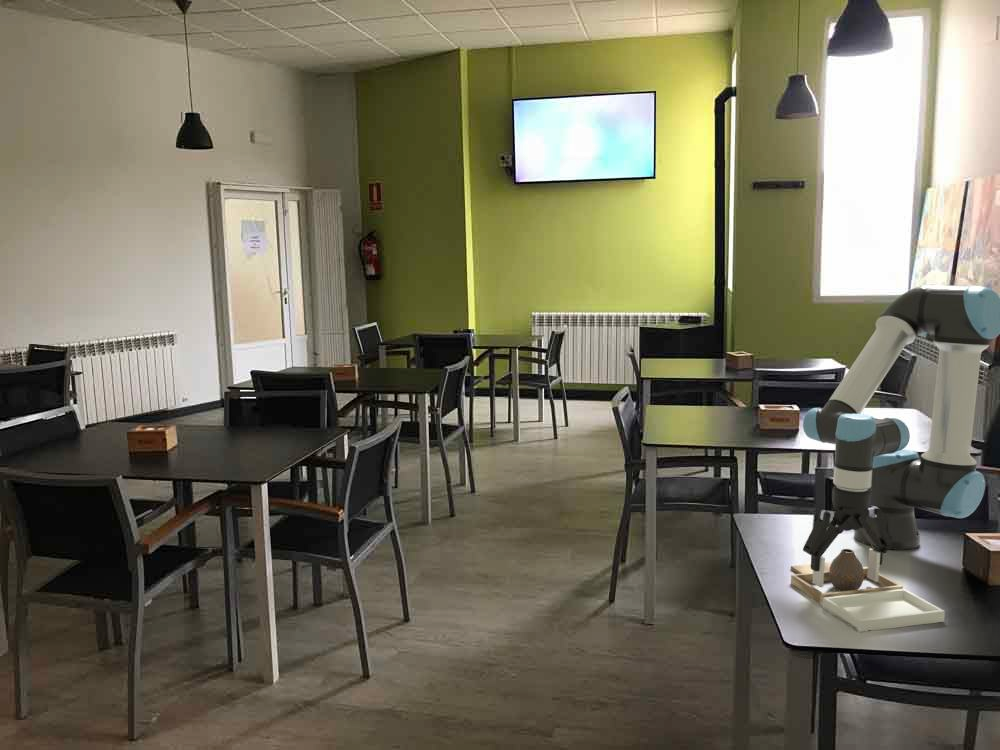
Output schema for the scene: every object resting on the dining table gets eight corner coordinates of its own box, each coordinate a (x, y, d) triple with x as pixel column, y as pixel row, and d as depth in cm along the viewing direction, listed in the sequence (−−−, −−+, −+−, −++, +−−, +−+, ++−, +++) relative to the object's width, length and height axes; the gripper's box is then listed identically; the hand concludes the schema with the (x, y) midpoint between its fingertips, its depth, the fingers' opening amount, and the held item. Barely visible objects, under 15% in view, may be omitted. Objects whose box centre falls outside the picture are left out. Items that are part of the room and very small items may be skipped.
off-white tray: (903, 598, 176) (904, 588, 175) (944, 621, 165) (944, 611, 164) (822, 607, 171) (823, 597, 171) (858, 632, 160) (859, 621, 160)
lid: (843, 564, 195) (844, 560, 195) (860, 573, 190) (860, 570, 189) (790, 569, 192) (790, 566, 192) (806, 579, 186) (806, 575, 186)
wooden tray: (867, 575, 189) (867, 566, 188) (902, 595, 178) (902, 586, 177) (790, 583, 184) (791, 574, 184) (822, 604, 173) (822, 595, 173)
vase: (842, 597, 177) (845, 557, 175) (821, 585, 183) (823, 546, 182) (870, 593, 178) (872, 554, 177) (848, 581, 185) (850, 543, 184)
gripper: (890, 479, 184) (883, 571, 187) (789, 485, 178) (784, 580, 181) (914, 488, 177) (907, 583, 180) (810, 495, 171) (804, 593, 174)
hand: (845, 582), depth 180 cm, fingers open, 13 cm apart
